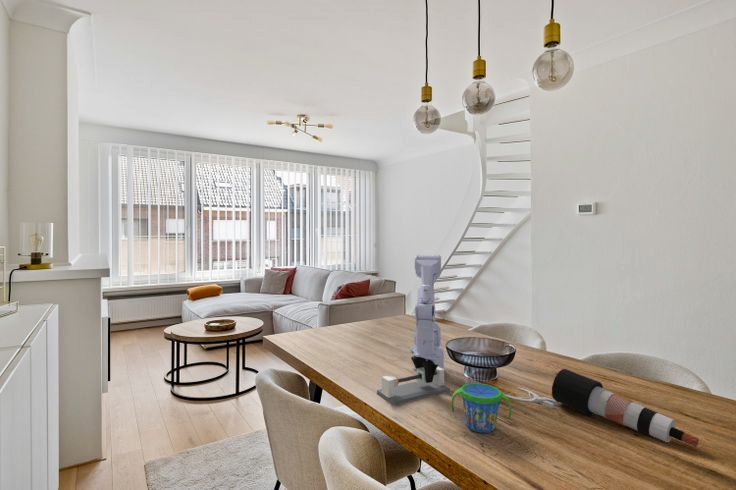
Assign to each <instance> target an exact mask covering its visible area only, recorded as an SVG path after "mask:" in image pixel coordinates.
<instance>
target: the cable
mask: <svg viewBox="0 0 736 490" xmlns="http://www.w3.org/2000/svg"><path fill="white" fill-rule="evenodd" d="M551 385H552V386H551V396H552V399H553V400H556V401H558V403H560V404H562V405H565V406H566V407H569V408H570V409H571V408H572V409H574V410H575V411H577V412H580V413H581V414H584V415H586V416H588V417H591V416H593V415H597V416H600V417H603V418H606V419H607V420H609V421H612V422H615V423H616V424H618V425H621V426H624V427H629V428H630V429H633V430H635V431H637V432H641V433H643V434H644V435H647V436H650V435H651V436H650V437H652V436H653V438H655V437H656V438H655V439H657V438H658V439H657V440H659V439H661V440H663V441H662V442H664V441H665V442H664V443H666V442H667V441H668V440H670V439H671V438H672V437H673V438H672V439H676V440H678V441H680V442H684V443H686V444H688V445H691V446H693V447H695V448H697V446H698V445H699V441H700V440H699V438H698V437H696V436H695V435H694V436H693V435H691V434H689V433H686V432H685V431H682V430H681V429H678V428H676V426H677V425H676V420H675V419H673V418H671V417H668V416H666V415H663V414H660V413H659V412H658V411H654V410H653V409H650V408H647V407H646V406H643V405H641V404H638V403H636V402H634V401H633V400H631V399H628V398H626V397H623V396H621V395H619V394H616V393H613V392H611V391H608V389H605V388H604V387H603V384H602V382H600V381H598V380H596V379H592V378H590V377H587V376H585V375H582V374H579V373H577V372H574V371H572V370H569V369H567V368H562V369H561V370H559V371H558V373H557V374H556V375H555V377H554V379H553V382H552V384H551ZM594 413H595V414H594ZM592 414H593V415H592ZM590 415H591V416H590ZM661 440H660V441H661Z"/></svg>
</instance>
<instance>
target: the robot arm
mask: <svg viewBox="0 0 736 490" xmlns="http://www.w3.org/2000/svg"><path fill="white" fill-rule="evenodd" d="M414 270H415V275H416V277H418V278H420V279H421V286H420V287H419V288H417V301H416V305H415V306H414V317H415V327H414V334H413V335H414V339H413V340H414V345H415V346H412V347H409V353H410V354H413V356H411V358H410V360H411V361H412V363H413V366H414V367H413V368H412V369H413V370H414V371H416V373H417V368H422V367H424V370H425V379H426V383H430V382H432V381H433V377H434V373H435V371H436V369H437V367H440V368H442V369H444V372H445V371H446V369H445V367H444V366H445V365H444V364H445V363H444V362H445V361H444V360H445V359H444V357H445V354H444V353H445V352H444V350H443V348H442V347H441V344H442V343H441V340H442V339H441V337H442V334H441V326H440V325H439V324H438V323H436V322H435V320H436V305H435V304H436V303H435V289H434V285H435V281H436V279H438V278H440V276H441V273H442V272H441V270H442V256H441V255H439V254H438V255H437V254H436V255H432V254H430V255H426V254H425V255H424V254H423V255H421V254H416V255H415V256H414Z"/></svg>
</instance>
